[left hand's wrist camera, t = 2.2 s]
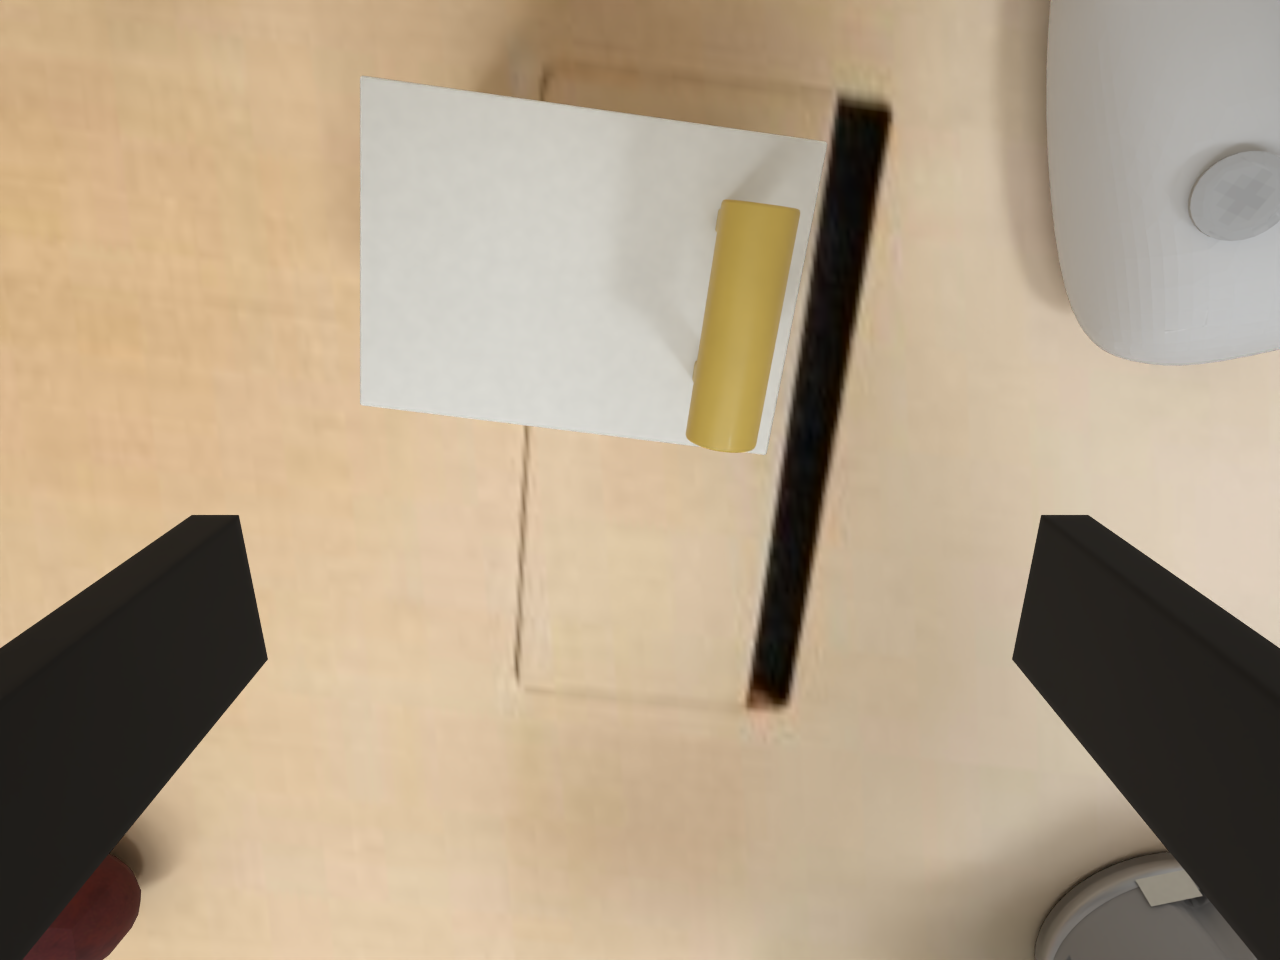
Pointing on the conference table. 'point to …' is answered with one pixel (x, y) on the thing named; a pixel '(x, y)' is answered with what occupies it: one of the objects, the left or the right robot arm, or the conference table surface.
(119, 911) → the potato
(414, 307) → the lid
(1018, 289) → the conference table surface
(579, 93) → the conference table surface
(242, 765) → the conference table surface
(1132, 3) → the projector
